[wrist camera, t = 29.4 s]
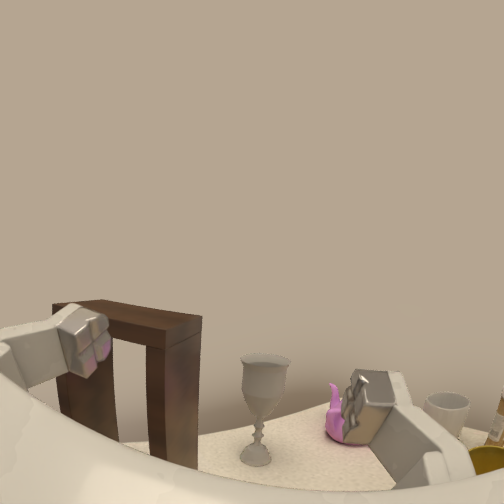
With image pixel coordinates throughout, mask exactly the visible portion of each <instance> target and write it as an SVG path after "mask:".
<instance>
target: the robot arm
mask: <svg viewBox="0 0 504 504" xmlns="http://www.w3.org/2000/svg"><path fill="white" fill-rule="evenodd" d="M108 327H109V321H108V317H107V316H106V315H105V314H103V313H100V312H97V311H94V310H92V309H89V308H86V307H83V306H81V305H78V304H76V303H70V304H68V305H67V306H65V307H64V308H62V309H61V310H59V311H58V312H57V313H55V314H54V315H52V316H51V317H50V318H48V319H47V320H46V321H36V322H31V323H26V324H21V325H16V326H11V327H6V328H1V329H0V504H504V468H501V469H498V470H495V471H491V472H488V473H484V474H481V475H477V476H476V472H475V469H474V467H473V464H472V461H471V458H470V455H469V452H468V450H467V447H466V446H465V445H464V444H463V443H462V442H460V441H459V440H458V439H457V438H456V437H454V436H453V435H452V434H451V433H449V432H448V431H447V430H446V429H445V428H443V427H442V426H441V425H440V424H439V423H437V422H436V421H435V420H434V419H433V418H431V417H430V416H429V415H428V414H427V413H425V412H424V411H423V410H422V409H420V408H419V407H418V406H413V403H412V400H411V397H410V394H409V391H408V388H407V385H406V383H405V380H404V377H403V375H402V373H401V372H399V371H374V370H363V369H355V371H354V372H353V374H352V376H351V386H350V387H348V388H347V389H346V390H345V393H344V396H343V399H342V403H341V417H342V418H343V419H344V420H345V422H344V424H343V426H342V435H343V443H348V444H364V445H369V447H370V449H371V450H372V451H373V453H374V454H375V455H376V457H377V458H378V459H379V461H380V462H381V463H382V465H383V466H384V468H385V469H386V470H387V472H388V473H389V474H390V476H391V477H392V478H393V480H394V481H395V482H396V485H395V486H394V487H393V488H392V489H391V490H381V491H319V490H305V489H294V488H285V487H277V486H270V485H263V484H257V483H251V482H246V481H240V480H235V479H231V478H226V477H222V476H217V475H213V474H209V473H205V472H202V471H198V470H194V469H191V468H188V467H184V466H181V465H178V464H175V463H171V462H168V461H165V460H163V459H160V458H157V457H154V456H151V455H149V454H146V453H143V452H141V451H138V450H136V449H133V448H131V447H128V446H126V445H124V444H121V443H119V442H117V441H114V440H112V439H110V438H108V437H106V436H104V435H102V434H99V433H97V432H95V431H93V430H91V429H89V428H87V427H85V426H84V425H82V424H80V423H78V422H76V421H74V420H72V419H71V418H69V417H67V416H65V415H64V414H62V413H60V412H58V411H57V410H55V409H53V408H52V407H50V406H48V405H47V404H45V403H44V402H42V401H41V400H39V399H37V398H36V397H34V396H32V395H31V394H30V393H29V392H28V388H30V387H33V386H36V385H38V384H41V383H43V382H45V381H48V380H50V379H53V378H55V377H57V376H60V375H62V374H64V373H67V372H68V371H70V372H72V373H75V374H77V375H79V376H81V377H84V378H86V379H87V378H88V377H89V376H90V375H91V374H92V373H93V372H94V371H95V370H96V369H97V363H98V362H101V361H104V360H105V359H106V358H107V356H108V355H109V352H110V350H111V344H112V341H111V336H110V334H109V333H108V331H107V328H108Z"/></svg>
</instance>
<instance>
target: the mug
mask: <svg viewBox="0 0 504 504" xmlns="http://www.w3.org/2000/svg"><path fill="white" fill-rule="evenodd" d="M469 408H470V400H469V398H467V397H465V396H463V395H461V394H458V393H453V392H438V393H433V394H431V395H429V396H428V397H427V399H426V401H425V404H424V408H423V411H424V412H425V413H427V414H428V415H429V416H430V417H431V418H433V419H434V420H435V421H436V422H437V423H439V424H440V425H441V426H442V427H443V428H445V429H446V430H447V431H448V432H449V433H451V434H452V435H453V436H454V437H456V438H458V436H459V434H460V432H461V430H462V427H463V425H464V423H465V421H466V417H467V414H468V411H469Z"/></svg>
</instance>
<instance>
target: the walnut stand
mask: <svg viewBox="0 0 504 504" xmlns="http://www.w3.org/2000/svg"><path fill="white" fill-rule="evenodd" d="M70 303H76V304H78V305H81V306H83V307H86V308H89V309H92V310H94V311H97V312H100V313H103V314H105V315H106V316H107V317H108V321H109V327H108V328H107V331H108V333H109V334H110V336H111V341H112V344H111V350H110V352H109V355H108V356H107V358H106V359H105V360H104V361H101V362H98V363H97V369H96V370H95V371H94V372H93V373H92V374H91V375H90V376H89V377H88V378H87V379H86V378H84V377H81V376H79V375H77V374H75V373H72V372H70V371H68V372H67V373H64V374H62V375H60V376H57V377H56V382H57V391H58V398H59V405H60V410H61V413H62V414H64V415H65V416H67V417H69V418H71V419H72V420H74V421H76V422H78V423H80V424H82V425H84V426H85V427H87V428H89V429H91V430H93V431H95V432H97V433H99V434H102V435H104V436H106V437H108V438H110V439H112V440H114V441H117V442H119V436H118V428H117V419H116V408H115V395H114V377H113V340H112V339H113V338H116V339H121V340H124V341H129V342H132V343H137V344H141V345H146V393H147V394H146V396H147V419H148V435H149V449H150V455H151V456H154V457H157V458H160V459H163V460H165V461H168V462H171V463H175V464H178V465H181V466H184V467H188V468H191V469H194V470H198V401H199V371H200V350H201V331H202V316H200V315H192V314H185V313H179V312H172V311H165V310H159V309H153V308H147V307H141V306H135V305H129V304H124V303H119V302H113V301H108V300H91V301H81V302H69V303H57V304H52V315H54V314H55V313H57V312H58V311H59V310H61V309H62V308H64V307H65V306H67V305H68V304H70Z"/></svg>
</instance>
